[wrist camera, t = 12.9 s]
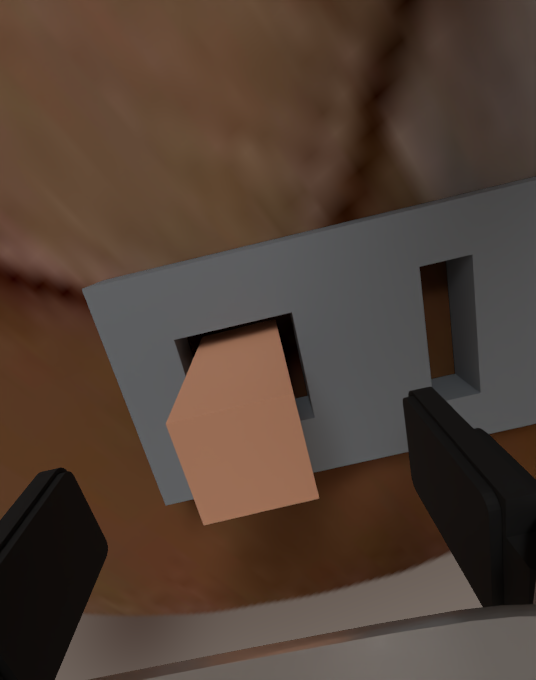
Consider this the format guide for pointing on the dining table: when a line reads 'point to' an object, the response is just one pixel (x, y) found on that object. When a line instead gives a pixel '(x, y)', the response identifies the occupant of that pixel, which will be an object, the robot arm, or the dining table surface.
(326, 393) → the socket board
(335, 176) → the dining table surface
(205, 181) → the dining table surface
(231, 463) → the square peg
